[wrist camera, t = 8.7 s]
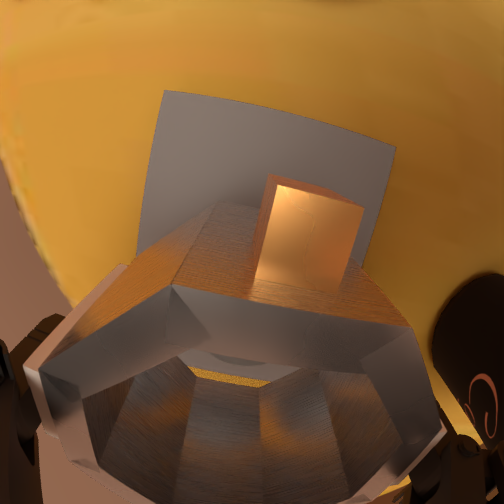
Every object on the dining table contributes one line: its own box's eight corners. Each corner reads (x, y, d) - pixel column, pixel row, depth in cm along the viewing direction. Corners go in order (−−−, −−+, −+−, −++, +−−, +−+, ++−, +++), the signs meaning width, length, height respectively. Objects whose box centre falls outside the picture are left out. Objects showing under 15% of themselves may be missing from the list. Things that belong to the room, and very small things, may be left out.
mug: (155, 145, 10) (25, 148, 3) (395, 202, 11) (531, 270, 4) (133, 376, 13) (84, 494, 7) (313, 408, 14) (337, 528, 7)
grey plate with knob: (169, 93, 17) (114, 59, 9) (388, 146, 18) (465, 151, 10) (135, 342, 22) (96, 417, 14) (310, 376, 23) (327, 458, 15)
